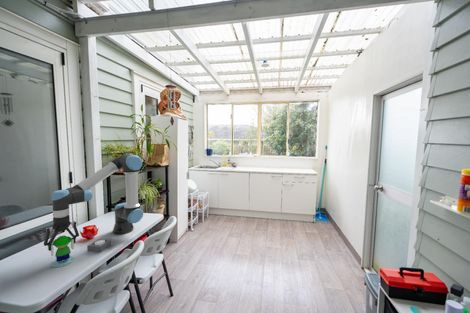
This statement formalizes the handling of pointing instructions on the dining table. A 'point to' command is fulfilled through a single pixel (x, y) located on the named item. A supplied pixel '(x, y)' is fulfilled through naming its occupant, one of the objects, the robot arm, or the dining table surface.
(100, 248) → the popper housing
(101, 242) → the dome
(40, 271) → the dining table surface
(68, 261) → the pad
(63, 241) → the toy
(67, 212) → the robot arm
